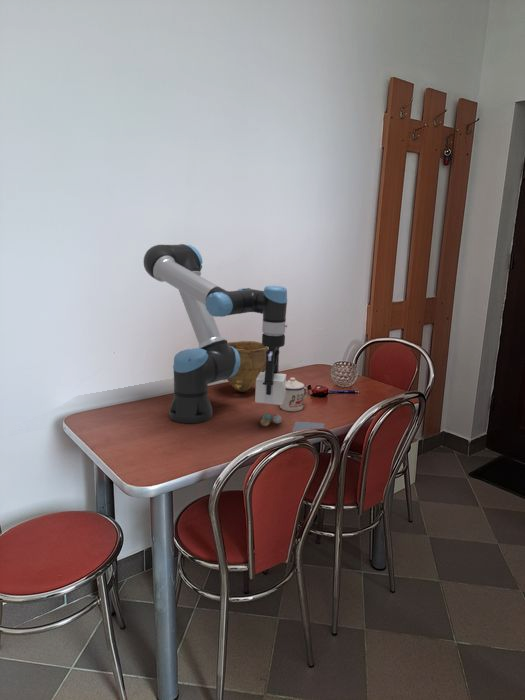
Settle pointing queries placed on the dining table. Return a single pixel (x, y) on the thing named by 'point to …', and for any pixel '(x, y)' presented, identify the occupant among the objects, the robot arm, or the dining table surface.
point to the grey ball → (277, 419)
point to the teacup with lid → (294, 395)
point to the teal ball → (267, 416)
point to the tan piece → (248, 364)
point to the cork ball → (265, 422)
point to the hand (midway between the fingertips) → (270, 398)
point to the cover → (278, 388)
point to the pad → (306, 425)
